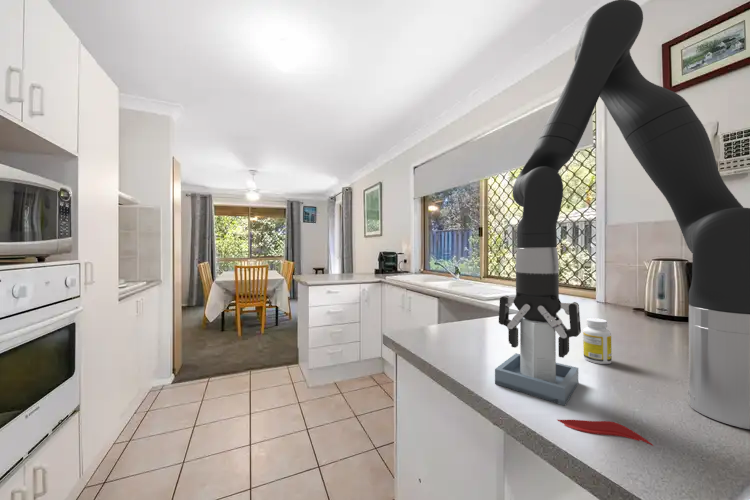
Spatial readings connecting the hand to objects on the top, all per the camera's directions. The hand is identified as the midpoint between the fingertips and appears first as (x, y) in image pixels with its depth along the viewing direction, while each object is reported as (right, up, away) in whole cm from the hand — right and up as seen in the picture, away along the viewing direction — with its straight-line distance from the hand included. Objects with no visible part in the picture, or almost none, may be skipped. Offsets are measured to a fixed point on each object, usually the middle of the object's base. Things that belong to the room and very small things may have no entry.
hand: (537, 351), depth 59 cm
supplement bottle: (+21, -7, +12) cm, 25 cm away
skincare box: (0, -6, 0) cm, 6 cm away
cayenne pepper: (+1, -7, -15) cm, 17 cm away
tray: (0, -7, 0) cm, 7 cm away
